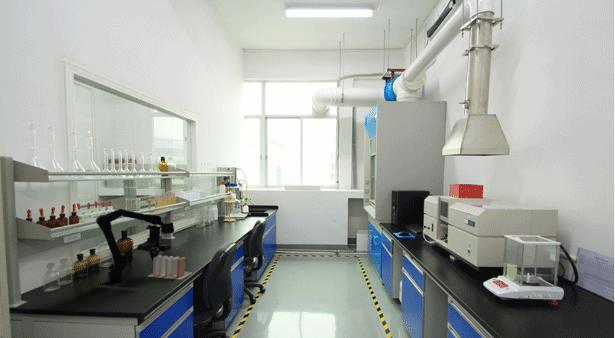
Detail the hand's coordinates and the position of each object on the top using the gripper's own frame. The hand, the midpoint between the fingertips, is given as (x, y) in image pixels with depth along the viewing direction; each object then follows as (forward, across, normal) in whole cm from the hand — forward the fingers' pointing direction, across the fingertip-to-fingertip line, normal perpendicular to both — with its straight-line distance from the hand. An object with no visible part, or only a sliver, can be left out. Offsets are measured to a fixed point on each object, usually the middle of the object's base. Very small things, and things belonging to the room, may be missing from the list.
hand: (153, 261), depth 153 cm
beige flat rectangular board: (+8, +12, 0) cm, 14 cm away
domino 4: (+7, +15, 0) cm, 16 cm away
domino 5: (+7, +19, 0) cm, 20 cm away
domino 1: (+7, +3, 0) cm, 8 cm away
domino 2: (+7, +7, 0) cm, 10 cm away
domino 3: (+7, +11, 0) cm, 13 cm away
